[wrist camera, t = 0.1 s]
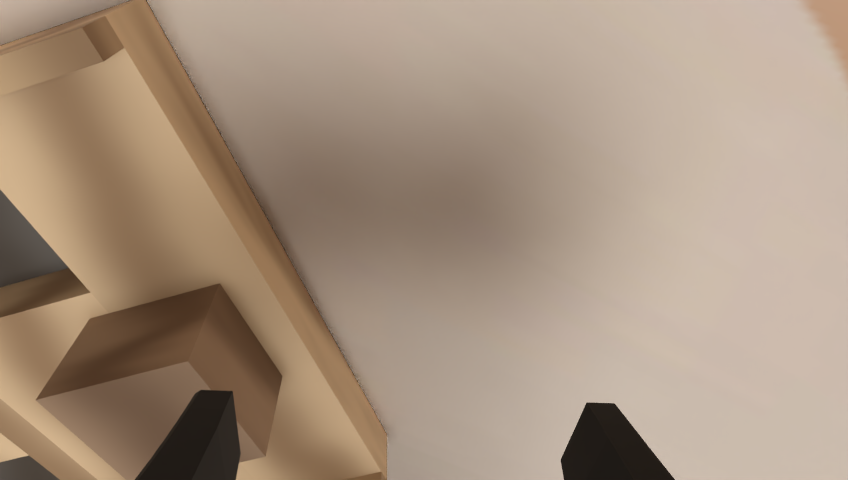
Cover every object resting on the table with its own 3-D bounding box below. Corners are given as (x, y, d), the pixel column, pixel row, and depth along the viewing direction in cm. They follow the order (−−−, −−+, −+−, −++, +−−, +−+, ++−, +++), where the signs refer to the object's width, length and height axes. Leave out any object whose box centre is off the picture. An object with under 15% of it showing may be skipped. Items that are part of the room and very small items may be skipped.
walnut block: (219, 283, 18) (187, 361, 15) (282, 376, 21) (265, 456, 18) (89, 318, 19) (35, 399, 16) (167, 404, 21) (133, 486, 19)
